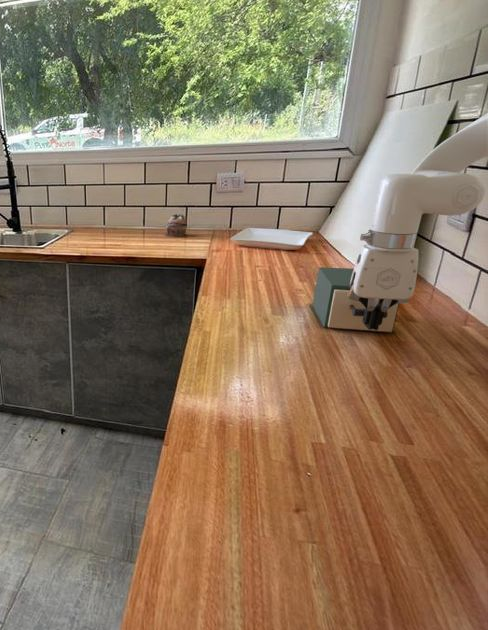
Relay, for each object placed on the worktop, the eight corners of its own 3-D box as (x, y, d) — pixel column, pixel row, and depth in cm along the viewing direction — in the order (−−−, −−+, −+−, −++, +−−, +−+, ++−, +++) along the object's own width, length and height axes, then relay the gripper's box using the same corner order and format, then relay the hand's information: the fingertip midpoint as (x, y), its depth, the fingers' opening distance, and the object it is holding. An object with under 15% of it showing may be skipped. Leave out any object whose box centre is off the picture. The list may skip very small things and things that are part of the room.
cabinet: (392, 333, 100) (403, 288, 96) (323, 328, 104) (331, 285, 100) (371, 310, 114) (380, 269, 110) (312, 306, 118) (318, 267, 114)
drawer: (399, 340, 94) (409, 301, 91) (333, 335, 98) (340, 297, 95) (372, 309, 112) (379, 275, 108) (316, 306, 115) (322, 273, 112)
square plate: (228, 247, 184) (229, 237, 183) (246, 235, 205) (247, 226, 203) (301, 253, 169) (302, 243, 168) (312, 240, 190) (314, 231, 189)
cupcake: (186, 233, 213) (187, 212, 209) (186, 238, 204) (187, 215, 201) (165, 233, 215) (166, 212, 211) (165, 237, 206) (166, 215, 203)
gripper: (353, 243, 86) (335, 331, 92) (445, 245, 82) (420, 337, 89) (342, 235, 93) (326, 318, 99) (427, 237, 89) (404, 323, 95)
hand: (370, 327), depth 94 cm, fingers closed
